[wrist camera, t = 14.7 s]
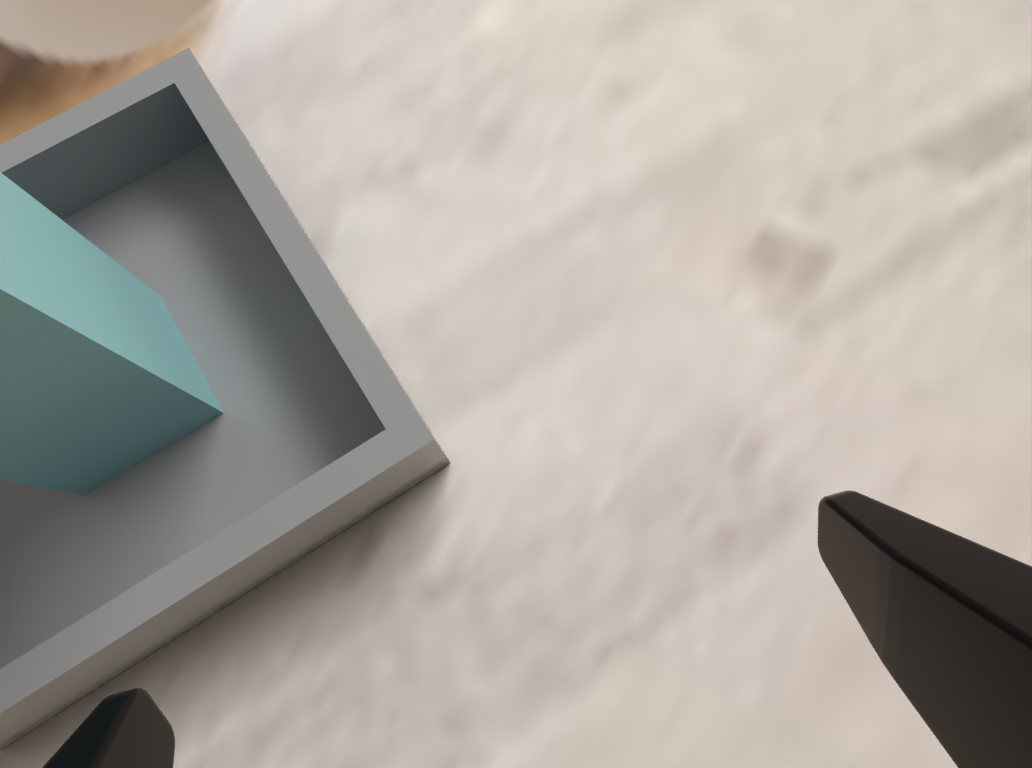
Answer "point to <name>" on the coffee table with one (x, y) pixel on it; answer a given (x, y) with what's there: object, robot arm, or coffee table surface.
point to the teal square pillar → (83, 358)
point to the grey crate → (231, 377)
